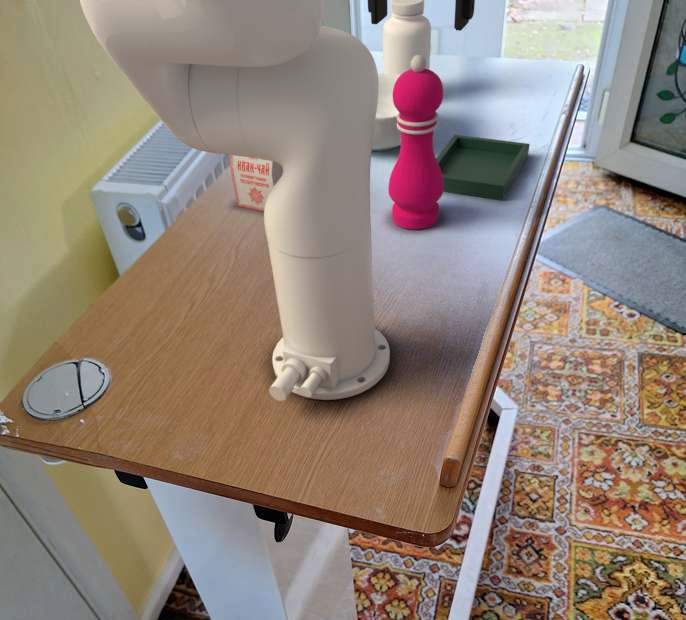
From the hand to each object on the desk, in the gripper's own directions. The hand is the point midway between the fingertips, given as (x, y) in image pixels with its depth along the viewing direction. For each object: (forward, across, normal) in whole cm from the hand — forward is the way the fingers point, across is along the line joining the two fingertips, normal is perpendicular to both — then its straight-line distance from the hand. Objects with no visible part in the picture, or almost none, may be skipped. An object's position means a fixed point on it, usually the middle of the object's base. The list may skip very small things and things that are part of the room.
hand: (419, 23), depth 74 cm
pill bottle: (+24, -16, +37) cm, 47 cm away
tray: (+23, +4, +14) cm, 28 cm away
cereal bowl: (+24, -14, +20) cm, 34 cm away
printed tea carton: (+23, -22, -4) cm, 32 cm away
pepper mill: (+23, 0, -1) cm, 23 cm away
